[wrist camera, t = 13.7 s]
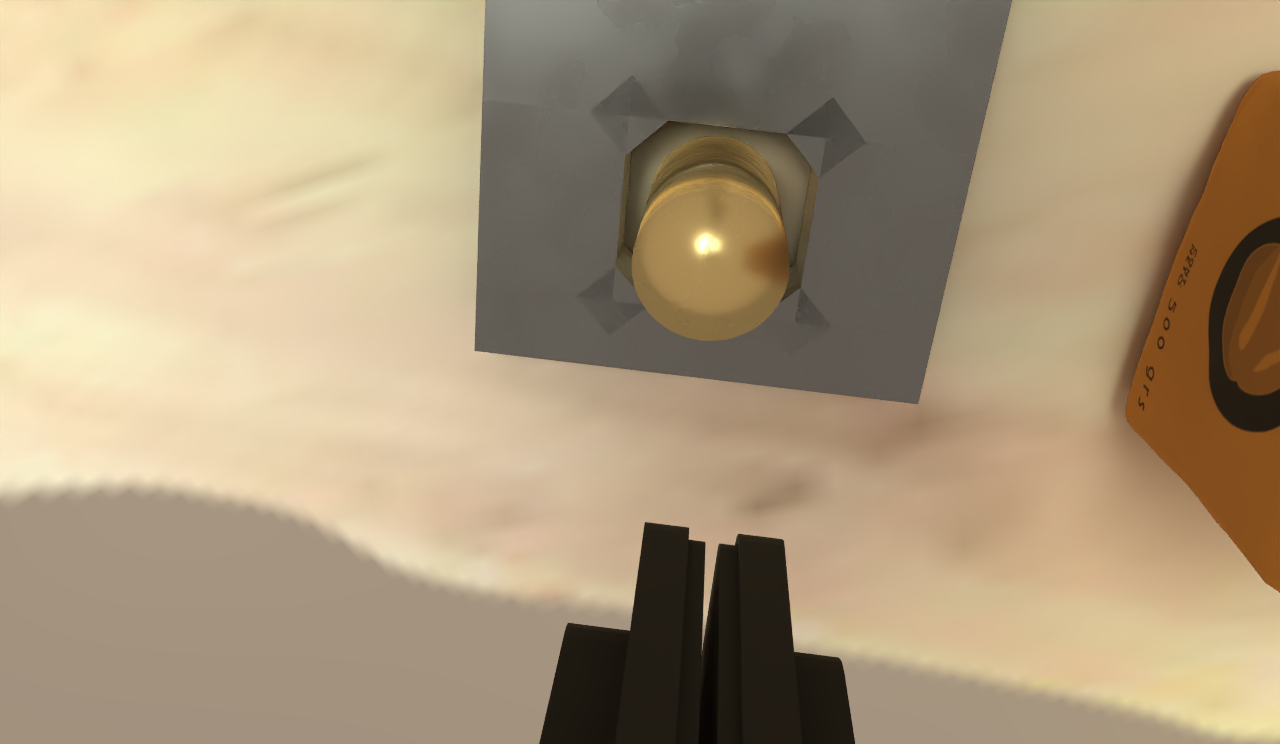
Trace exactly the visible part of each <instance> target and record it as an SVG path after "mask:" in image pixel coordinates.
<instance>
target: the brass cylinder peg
mask: <svg viewBox="0 0 1280 744" xmlns="http://www.w3.org/2000/svg"><path fill="white" fill-rule="evenodd" d="M789 272H790V257H789V251H788V246H787V240H786V235H785V230H784V225H783V219H782V214H781V209H780V204H779V198H778V193H777V188H776V183H775V180H774V177H773V174H772V172H771V170H770V168H769V166H768V165H767V163H766V162H765V160H764V159H763V158H762V157H761V156H760V155H759V154H758V153H757V152H756V151H755V150H754V149H752V148H751V147H749V146H748V145H746V144H744V143H742V142H740V141H738V140H735V139H732V138H728V137H722V136H708V137H701V138H697V139H694V140H691V141H689V142H687V143H685V144H683V145H681V146H679V147H678V148H677V149H675V150H674V151H673V152H672V153H671V154H669V155H668V156H667V158H666V159H665V160H664V161H663V162H662V164H661V166H660V167H659V169H658V171H657V173H656V175H655V177H654V181H653V184H652V187H651V191H650V194H649V197H648V201H647V204H646V208H645V211H644V215H643V218H642V222H641V225H640V228H639V232H638V235H637V239H636V242H635V246H634V249H633V255H632V277H633V281H634V286H635V289H636V291H637V294H638V297H639V298H640V300H641V302H642V304H643V305H644V307H645V308H646V310H647V311H648V312H649V313H650V315H651V316H652V317H653V318H654V319H655V320H656V321H658V322H659V323H660V324H661V325H663V326H664V327H665V328H667V329H669V330H670V331H672V332H674V333H676V334H679V335H681V336H684V337H687V338H690V339H695V340H701V341H721V340H726V339H731V338H734V337H738V336H740V335H743V334H745V333H747V332H749V331H751V330H753V329H754V328H756V327H757V326H759V325H760V324H761V323H762V322H764V321H765V320H766V319H767V318H768V317H769V316H770V315H771V314H772V313H773V311H774V310H775V309H776V307H777V306H778V305H779V303H780V301H781V299H782V297H783V295H784V293H785V290H786V287H787V284H788V279H789Z"/></svg>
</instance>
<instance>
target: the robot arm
mask: <svg viewBox="0 0 1280 744" xmlns="http://www.w3.org/2000/svg"><path fill="white" fill-rule="evenodd" d="M688 539H689V528H687V527H679V526H671V525H663V524H655V523H647V522H645V525H644V533H643V540H642V547H641V555H640V562H639V569H638V577H637V584H636V591H635V599H634V606H633V613H632V621H631V628H630V631H627V630H619V629H611V628H604V627H595V626H588V625H581V624H573V623H568V624H567V626H566V630H565V634H564V638H563V642H562V647H561V651H560V656H559V660H558V664H557V668H556V673H555V677H554V682H553V686H552V691H551V695H550V700H549V704H548V708H547V713H546V717H545V721H544V726H543V730H542V734H541V739H540V743H539V744H855V740H854V733H853V726H852V720H851V713H850V707H849V700H848V695H847V687H846V681H845V674H844V670H843V665H842V661H841V660H840V659H839V658H837V657H830V656H822V655H814V654H806V653H799V652H794V647H793V636H792V625H791V613H790V602H789V591H788V580H787V569H786V558H785V547H784V541H783V540H782V539H775V538H767V537H759V536H751V535H743V534H738V535H737V539H736V543H735V546H734V545H726V544H719V546H718V551H717V558H716V564H715V571H714V577H713V584H712V590H711V597H710V603H709V610H708V616H707V623H706V629H705V636H704V643H703V650H702V626H703V598H704V570H705V542H702V541H694V540H688ZM701 654H702V656H701Z"/></svg>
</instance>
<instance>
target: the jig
mask: <svg viewBox="0 0 1280 744" xmlns="http://www.w3.org/2000/svg"><path fill="white" fill-rule="evenodd" d="M1011 2H1012V0H486V7H485V38H484V70H483V102H482V134H481V166H480V198H479V230H478V262H477V294H476V326H475V351H481V352H490V353H498V354H506V355H515V356H523V357H531V358H539V359H548V360H556V361H564V362H573V363H581V364H589V365H598V366H606V367H614V368H623V369H631V370H639V371H648V372H656V373H664V374H672V375H681V376H689V377H697V378H706V379H714V380H722V381H731V382H739V383H747V384H756V385H764V386H772V387H781V388H789V389H797V390H806V391H814V392H822V393H830V394H839V395H847V396H855V397H864V398H872V399H880V400H889V401H897V402H905V403H914V404H918V402H919V398H920V393H921V389H922V385H923V380H924V376H925V372H926V367H927V363H928V359H929V355H930V350H931V346H932V342H933V337H934V333H935V329H936V324H937V320H938V316H939V312H940V307H941V303H942V299H943V294H944V290H945V286H946V281H947V277H948V273H949V269H950V264H951V260H952V256H953V251H954V247H955V243H956V238H957V234H958V230H959V226H960V221H961V217H962V213H963V208H964V204H965V200H966V195H967V191H968V187H969V183H970V178H971V174H972V170H973V165H974V161H975V157H976V152H977V148H978V144H979V140H980V135H981V131H982V127H983V122H984V118H985V114H986V109H987V105H988V101H989V97H990V92H991V88H992V84H993V79H994V75H995V71H996V66H997V62H998V58H999V54H1000V49H1001V45H1002V41H1003V36H1004V32H1005V28H1006V23H1007V19H1008V15H1009V11H1010V6H1011ZM667 121H677V122H686V123H695V124H704V125H713V126H722V127H731V128H740V129H749V130H758V131H767V132H776V133H785V134H787V135H788V137H789V138H790V139H791V141H792V142H793V143H794V145H795V146H796V147H797V149H798V150H799V151H800V153H801V154H802V155H803V157H804V158H805V159H806V161H807V162H808V163H809V165H810V166H811V173H810V179H809V185H808V191H807V197H806V203H805V209H804V215H803V221H802V227H801V233H800V239H799V245H798V251H797V257H796V262H795V263H794V264H793V265H791V266H790V272H789V279H788V284H787V287H786V290H785V293H784V295H783V297H782V299H781V301H780V303H779V305H778V306H777V307H776V309H775V310H774V311H773V313H772V314H771V315H770V316H769V317H768V318H767V319H766V320H765V321H764V322H762V323H761V324H760V325H759V326H757V327H756V328H754V329H753V330H751V331H749V332H747V333H745V334H743V335H740V336H738V337H734V338H731V339H726V340H721V341H701V340H695V339H690V338H687V337H684V336H681V335H679V334H676V333H674V332H672V331H670V330H669V329H667V328H665V327H664V326H663V325H661V324H660V323H659V322H658V321H656V320H655V319H654V318H653V317H652V316H651V315H650V313H649V312H648V311H647V310H646V308H645V307H644V305H643V304H642V302H641V300H640V298H639V297H638V294H637V291H636V289H635V286H634V281H633V277H632V255H633V253H632V252H631V251H630V250H629V249H628V247H627V246H626V245H625V244H624V243H623V239H624V228H625V217H626V207H627V196H628V185H629V174H630V163H631V153H632V150H633V149H634V148H636V147H637V146H638V145H639V144H640V143H642V142H643V141H644V140H645V139H647V138H648V137H649V136H650V135H651V134H653V133H654V132H655V131H656V130H658V129H659V128H660V127H661V126H662V125H664V124H665V123H666V122H667Z"/></svg>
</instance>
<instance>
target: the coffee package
mask: <svg viewBox="0 0 1280 744" xmlns="http://www.w3.org/2000/svg"><path fill="white" fill-rule="evenodd" d="M1126 418H1127V421H1128V422H1129V424H1130V425H1131V426H1132V428H1133V429H1134V430H1135V431H1136V432H1137V433H1138V434H1139V435H1140V436H1141V437H1142V438H1143V439H1144V440H1145V441H1146V442H1147V443H1148V444H1149V445H1150V446H1151V447H1152V449H1153V450H1154V451H1155V452H1156V453H1157V454H1158V455H1159V456H1160V458H1161V459H1162V460H1163V461H1164V462H1165V463H1166V464H1167V465H1168V466H1169V467H1170V468H1171V469H1172V470H1173V471H1174V472H1176V473H1177V474H1178V475H1179V476H1180V477H1181V478H1182V480H1183V481H1184V482H1185V483H1186V484H1187V485H1188V486H1189V487H1190V489H1191V490H1192V491H1193V492H1194V493H1195V495H1196V496H1197V497H1198V498H1199V500H1200V501H1201V502H1202V504H1203V505H1204V506H1205V508H1206V509H1207V510H1208V512H1209V513H1210V514H1211V516H1212V517H1213V518H1214V520H1215V521H1216V522H1217V523H1218V524H1219V525H1220V527H1221V528H1222V529H1223V530H1224V531H1225V532H1226V533H1227V534H1228V535H1229V537H1230V538H1231V539H1232V541H1233V542H1234V543H1235V544H1236V545H1237V547H1238V548H1239V549H1240V550H1241V552H1242V553H1243V554H1244V556H1245V557H1246V558H1247V560H1248V561H1249V562H1250V563H1251V565H1252V566H1253V567H1254V569H1255V570H1256V571H1257V572H1258V574H1259V575H1260V576H1261V578H1262V579H1263V580H1264V582H1265V583H1267V584H1268V585H1270V586H1271V587H1273V588H1274V589H1276V590H1277V591H1279V592H1280V71H1273V72H1269V73H1266V74H1264V75H1261V76H1260V77H1259V78H1258V79H1257V80H1256V81H1255V82H1254V83H1253V84H1252V86H1251V87H1250V88H1249V90H1248V91H1247V93H1246V94H1245V96H1244V97H1243V99H1242V101H1241V103H1240V105H1239V107H1238V110H1237V112H1236V114H1235V116H1234V119H1233V121H1232V123H1231V125H1230V127H1229V130H1228V132H1227V134H1226V136H1225V139H1224V141H1223V144H1222V146H1221V149H1220V151H1219V153H1218V156H1217V158H1216V160H1215V162H1214V165H1213V167H1212V170H1211V173H1210V176H1209V179H1208V181H1207V184H1206V187H1205V190H1204V192H1203V195H1202V197H1201V199H1200V201H1199V203H1198V205H1197V207H1196V209H1195V211H1194V214H1193V216H1192V218H1191V220H1190V223H1189V225H1188V228H1187V231H1186V233H1185V236H1184V238H1183V241H1182V243H1181V245H1180V247H1179V250H1178V252H1177V255H1176V257H1175V260H1174V263H1173V266H1172V268H1171V271H1170V274H1169V277H1168V280H1167V282H1166V285H1165V288H1164V291H1163V294H1162V297H1161V300H1160V303H1159V306H1158V309H1157V312H1156V315H1155V318H1154V321H1153V324H1152V327H1151V330H1150V332H1149V335H1148V338H1147V340H1146V343H1145V345H1144V348H1143V351H1142V354H1141V357H1140V360H1139V363H1138V366H1137V369H1136V372H1135V375H1134V378H1133V382H1132V385H1131V388H1130V391H1129V394H1128V399H1127V406H1126Z"/></svg>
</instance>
